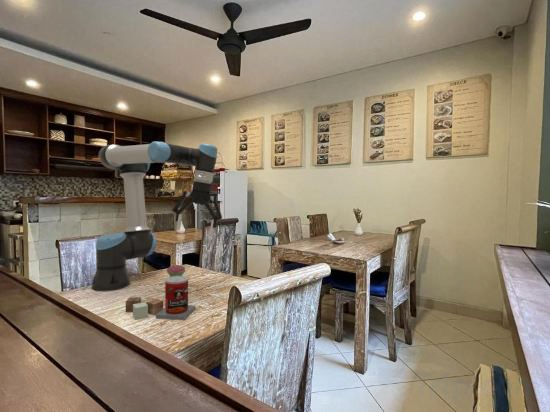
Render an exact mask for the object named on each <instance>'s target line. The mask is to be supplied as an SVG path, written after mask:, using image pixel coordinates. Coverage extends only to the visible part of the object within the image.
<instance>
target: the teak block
mask: <svg viewBox="0 0 550 412" xmlns="http://www.w3.org/2000/svg"><path fill="white" fill-rule="evenodd" d="M145 302H146V304H147V305H148V315H152V316H156V314H157V313H159V312H160V311H161V310H162V309H164V300H163V299H158V298H154V299H149V300H148V301H145Z"/></svg>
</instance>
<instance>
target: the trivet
mask: <svg viewBox="0 0 550 412" xmlns="http://www.w3.org/2000/svg"><path fill="white" fill-rule="evenodd" d="M195 310H196V305H193V304H188V308H187V310H186V311H185V312H182V313H178V314H170V313H167V312H166V309H165V307H163V309H162V310H161V311H160V312H159V313H157V314H156V315H155V319H162V320H182V321H185V320H186V319H187V318H188V317H189V316H190V315H191V314H192V313H193V312H194V311H195Z"/></svg>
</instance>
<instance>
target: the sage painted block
mask: <svg viewBox="0 0 550 412" xmlns="http://www.w3.org/2000/svg"><path fill="white" fill-rule="evenodd" d="M146 302H147V301H144V302H141V303H138V304H133V312H132V316H133V318H134V320H135V321H136V320H140V319H145V318H149V317H148V316H149V314H148V305H147V304H146Z"/></svg>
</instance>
